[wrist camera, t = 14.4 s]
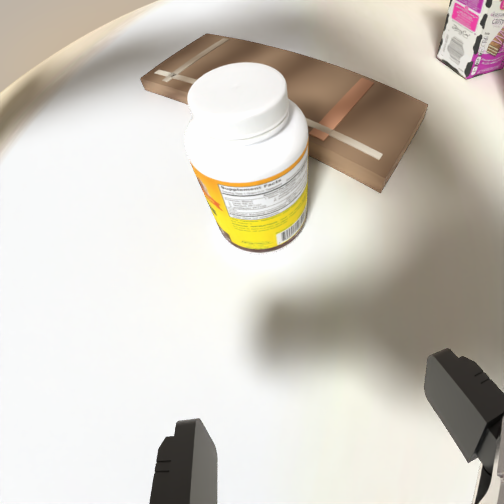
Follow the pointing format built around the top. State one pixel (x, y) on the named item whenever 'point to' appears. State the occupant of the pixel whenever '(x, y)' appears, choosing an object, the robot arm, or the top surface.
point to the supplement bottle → (250, 155)
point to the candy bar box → (473, 37)
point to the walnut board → (312, 103)
